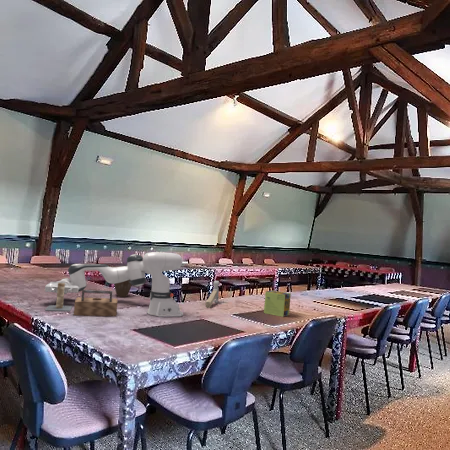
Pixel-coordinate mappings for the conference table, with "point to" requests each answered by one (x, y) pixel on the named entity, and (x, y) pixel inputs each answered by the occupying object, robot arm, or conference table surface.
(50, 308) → the slate mat
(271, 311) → the protein box
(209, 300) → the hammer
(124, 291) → the plant pot
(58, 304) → the wooden key
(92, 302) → the toolbox
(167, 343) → the conference table surface
